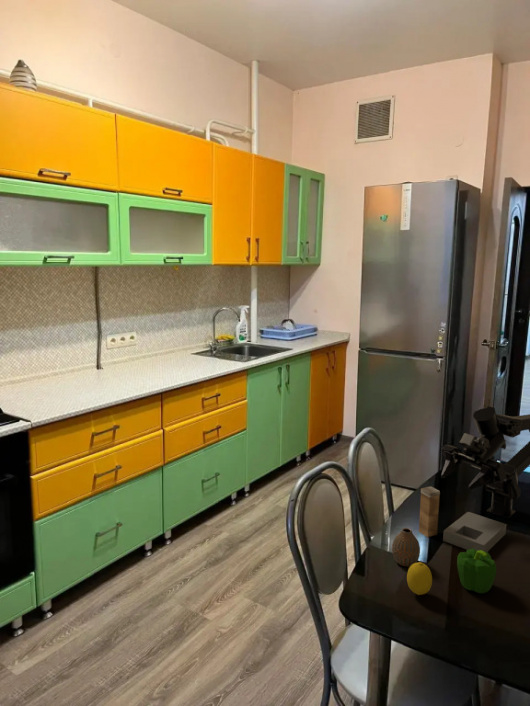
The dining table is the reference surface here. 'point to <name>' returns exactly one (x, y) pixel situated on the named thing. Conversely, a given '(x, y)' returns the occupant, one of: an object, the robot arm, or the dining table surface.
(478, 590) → the bell pepper
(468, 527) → the block with square hole
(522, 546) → the dining table surface
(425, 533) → the wooden square peg
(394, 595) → the dining table surface
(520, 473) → the robot arm
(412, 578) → the lemon
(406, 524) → the dining table surface
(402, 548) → the vase
